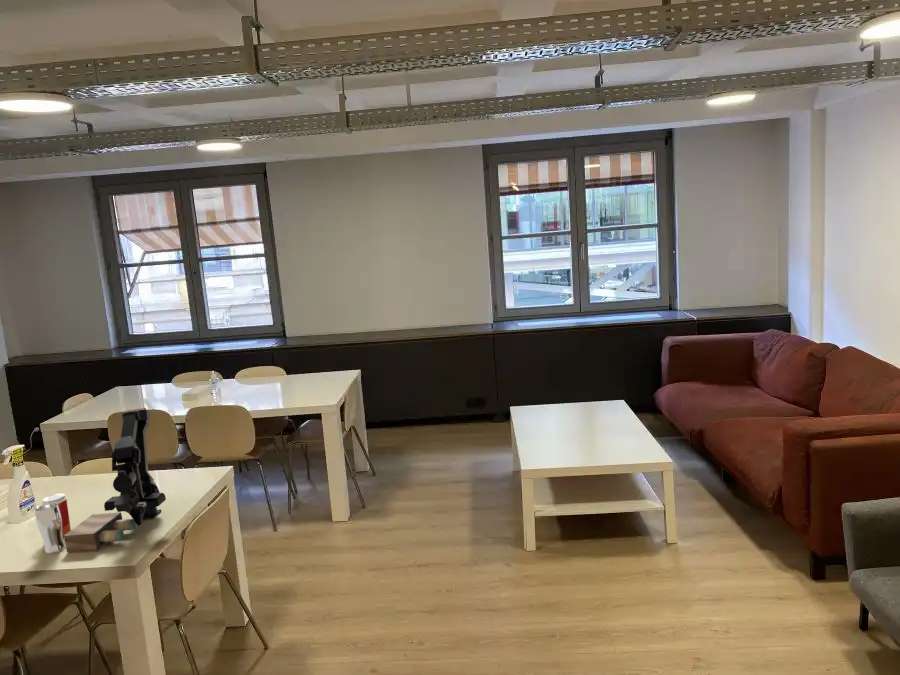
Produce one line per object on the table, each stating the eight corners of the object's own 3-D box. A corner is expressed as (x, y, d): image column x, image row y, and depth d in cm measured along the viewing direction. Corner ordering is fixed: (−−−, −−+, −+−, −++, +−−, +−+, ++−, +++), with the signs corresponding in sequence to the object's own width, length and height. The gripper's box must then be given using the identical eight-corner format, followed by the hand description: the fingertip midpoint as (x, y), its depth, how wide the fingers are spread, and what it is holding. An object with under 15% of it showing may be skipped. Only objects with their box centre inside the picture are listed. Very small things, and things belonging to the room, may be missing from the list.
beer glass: (71, 543, 226) (62, 501, 224) (60, 553, 219) (51, 510, 217) (50, 546, 226) (41, 503, 224) (38, 556, 219) (29, 512, 217)
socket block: (95, 530, 235) (92, 514, 234) (124, 528, 234) (121, 512, 233) (67, 553, 219) (63, 535, 218) (97, 551, 218) (94, 533, 217)
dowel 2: (111, 528, 232) (109, 518, 231) (137, 526, 231) (135, 517, 231) (105, 533, 229) (103, 523, 228) (131, 531, 228) (129, 521, 227)
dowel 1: (98, 539, 224) (96, 529, 224) (124, 537, 224) (122, 527, 223) (92, 544, 221) (89, 534, 220) (118, 543, 220) (116, 532, 219)
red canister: (46, 537, 234) (38, 498, 232) (70, 528, 239) (62, 491, 237) (52, 542, 229) (44, 503, 226) (77, 534, 234) (69, 495, 231)
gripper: (90, 493, 219) (99, 538, 222) (146, 488, 218) (154, 534, 221) (109, 480, 230) (117, 523, 233) (162, 475, 229) (170, 519, 232)
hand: (139, 525), depth 229 cm, fingers closed
